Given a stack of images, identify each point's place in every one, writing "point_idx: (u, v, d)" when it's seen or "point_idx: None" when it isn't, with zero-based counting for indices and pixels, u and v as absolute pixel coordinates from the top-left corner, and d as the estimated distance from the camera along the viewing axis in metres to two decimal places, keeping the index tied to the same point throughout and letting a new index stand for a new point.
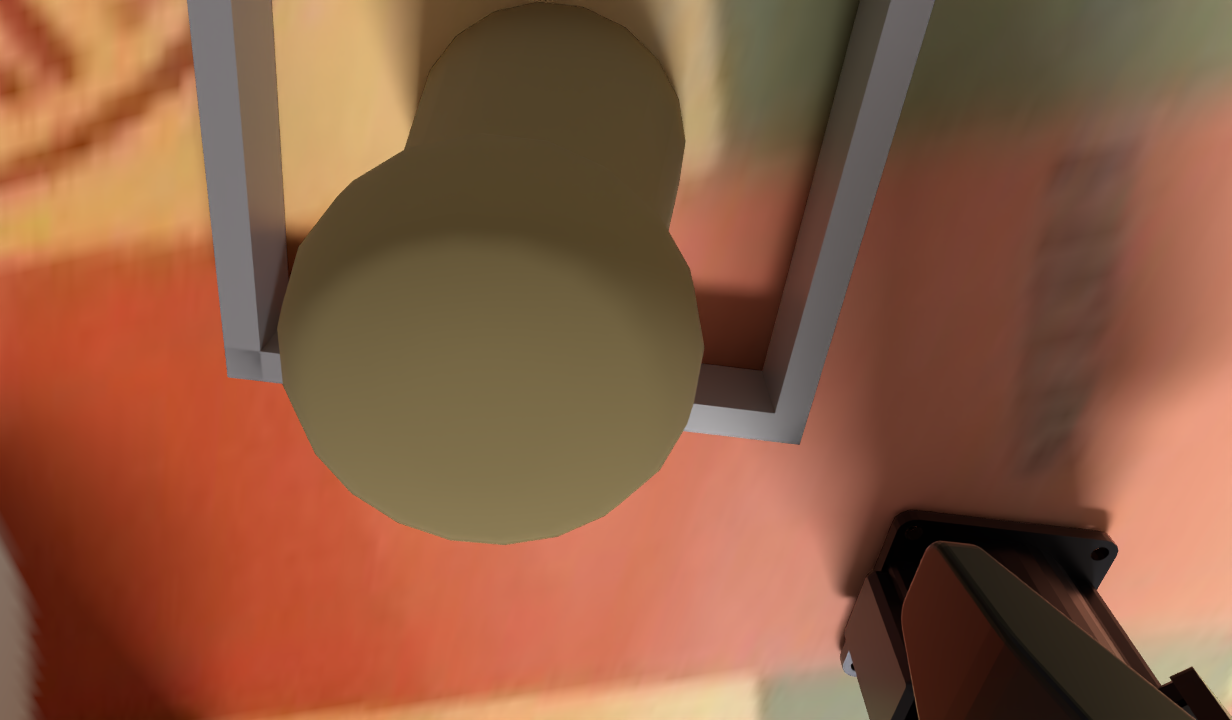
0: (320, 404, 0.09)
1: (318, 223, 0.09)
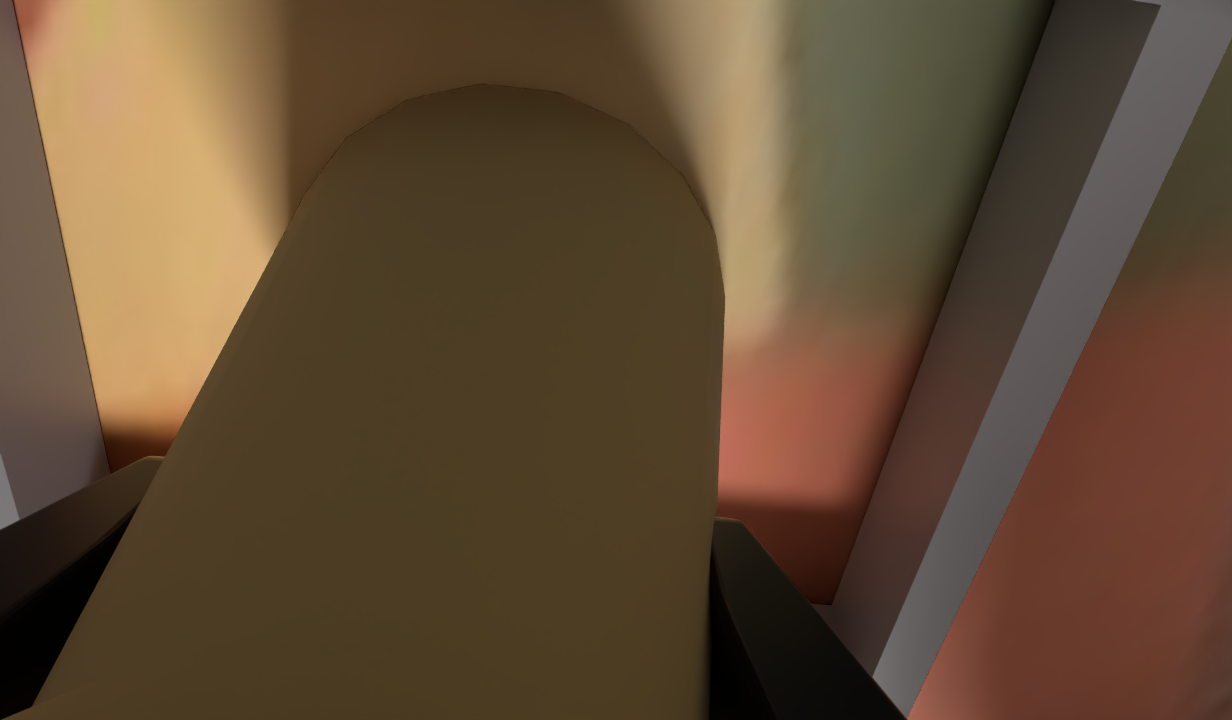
0: None
1: None
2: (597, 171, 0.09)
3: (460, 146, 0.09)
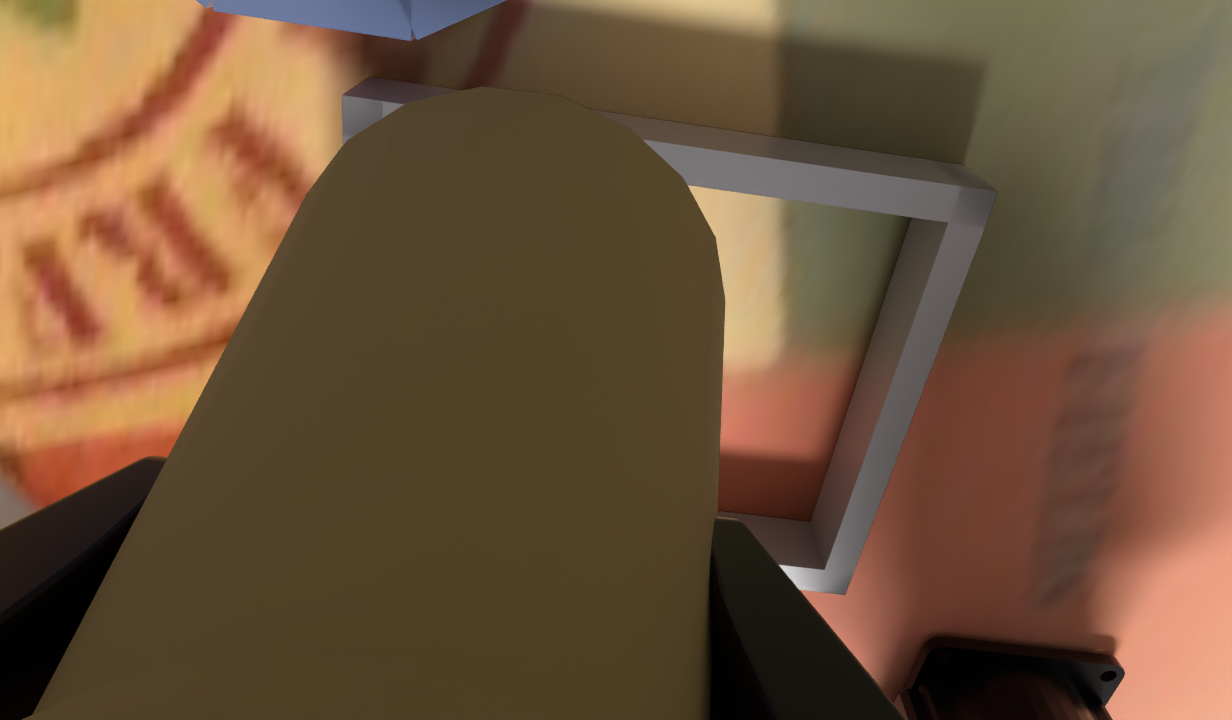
0: None
1: None
2: (597, 174, 0.09)
3: (460, 149, 0.09)
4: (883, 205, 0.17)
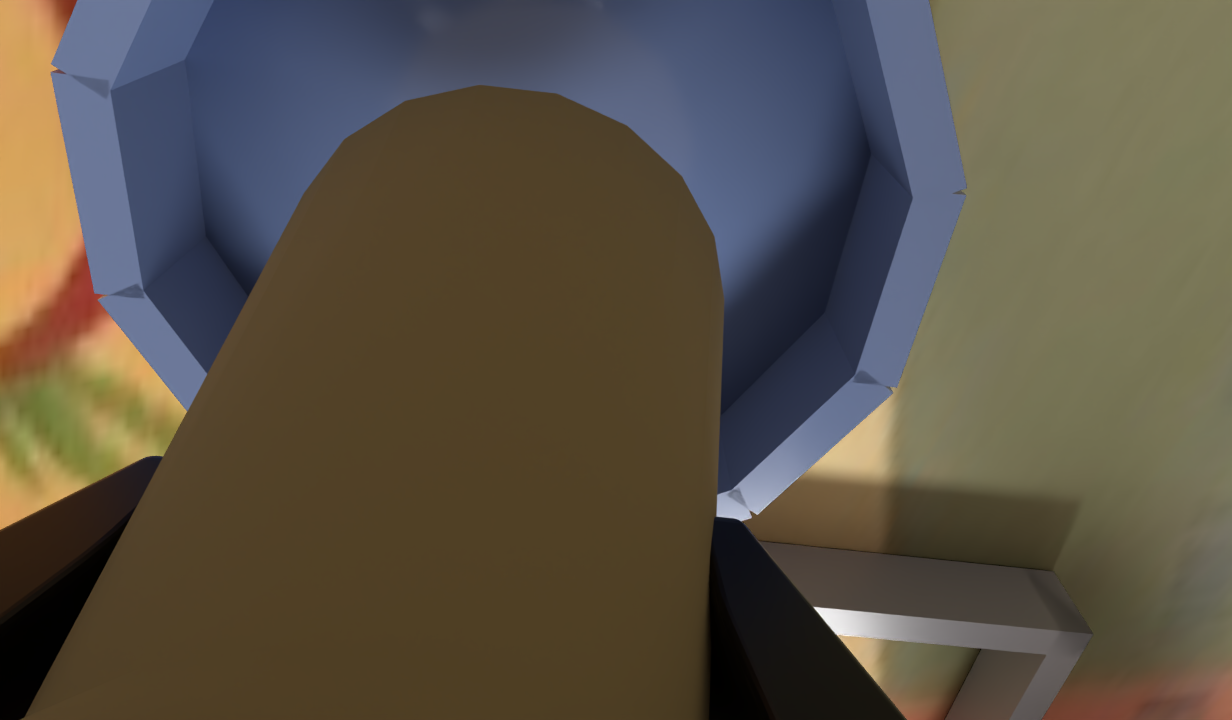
0: None
1: None
2: (596, 172, 0.09)
3: (458, 147, 0.09)
4: (988, 643, 0.19)
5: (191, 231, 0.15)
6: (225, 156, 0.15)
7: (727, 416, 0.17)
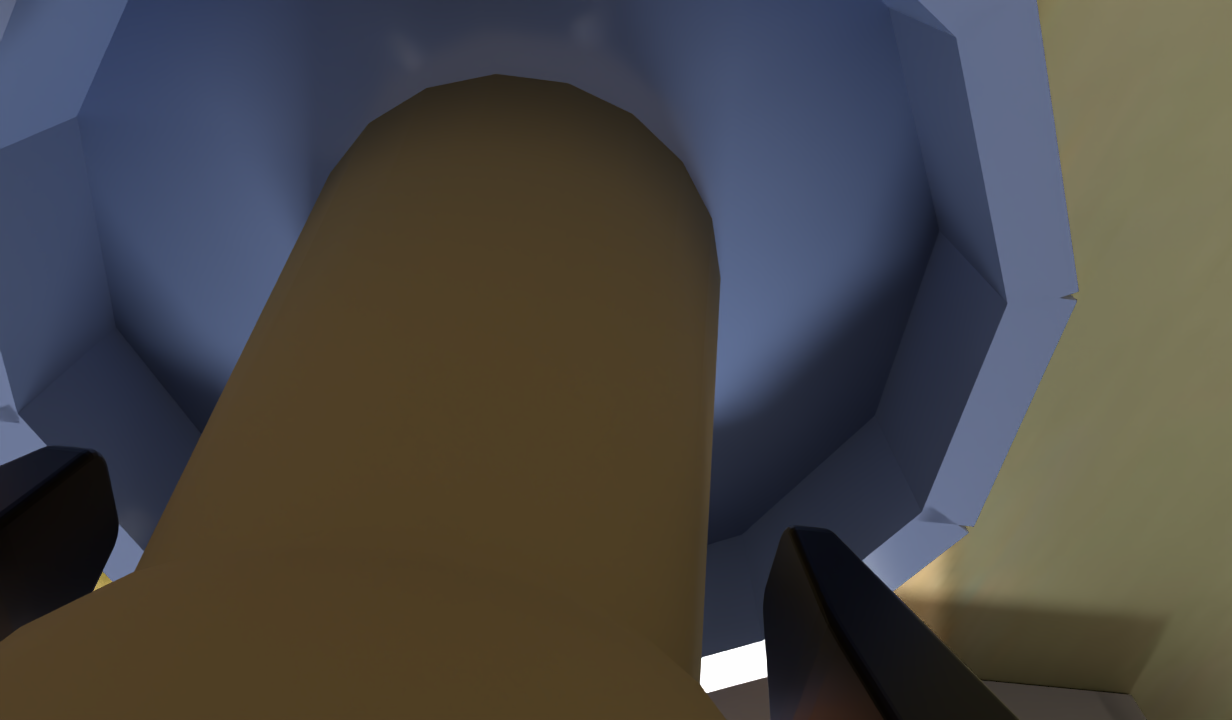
0: None
1: None
2: (604, 155, 0.10)
3: (479, 130, 0.09)
4: None
5: (93, 325, 0.12)
6: (134, 233, 0.12)
7: (754, 534, 0.14)
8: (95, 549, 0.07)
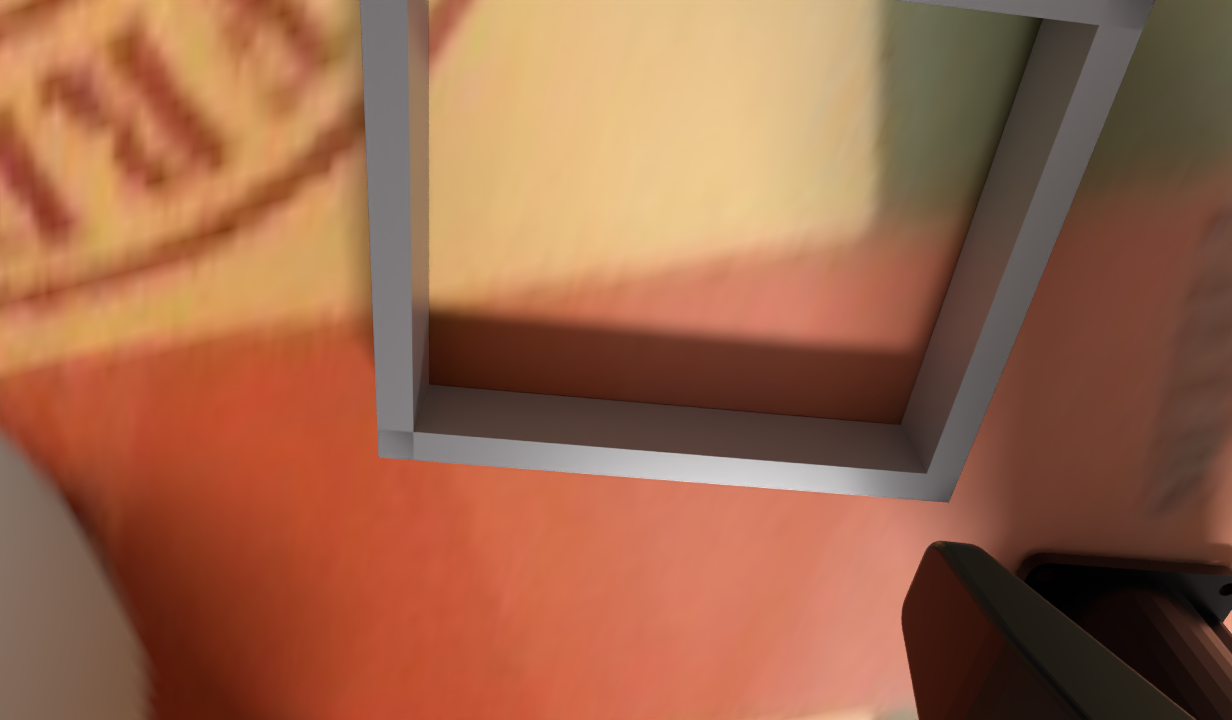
0: None
1: None
2: None
3: None
4: (1021, 5, 0.14)
5: None
6: None
7: None
8: None
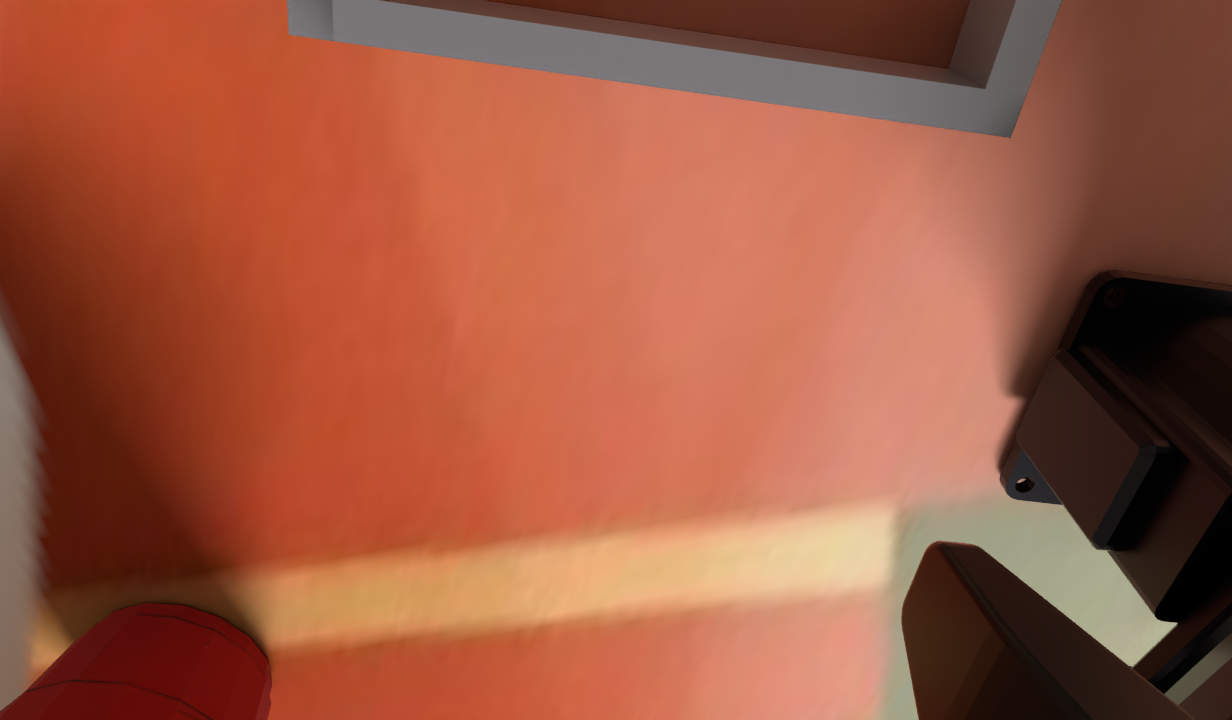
0: None
1: None
2: None
3: None
4: None
5: None
6: None
7: None
8: None
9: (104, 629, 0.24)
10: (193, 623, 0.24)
